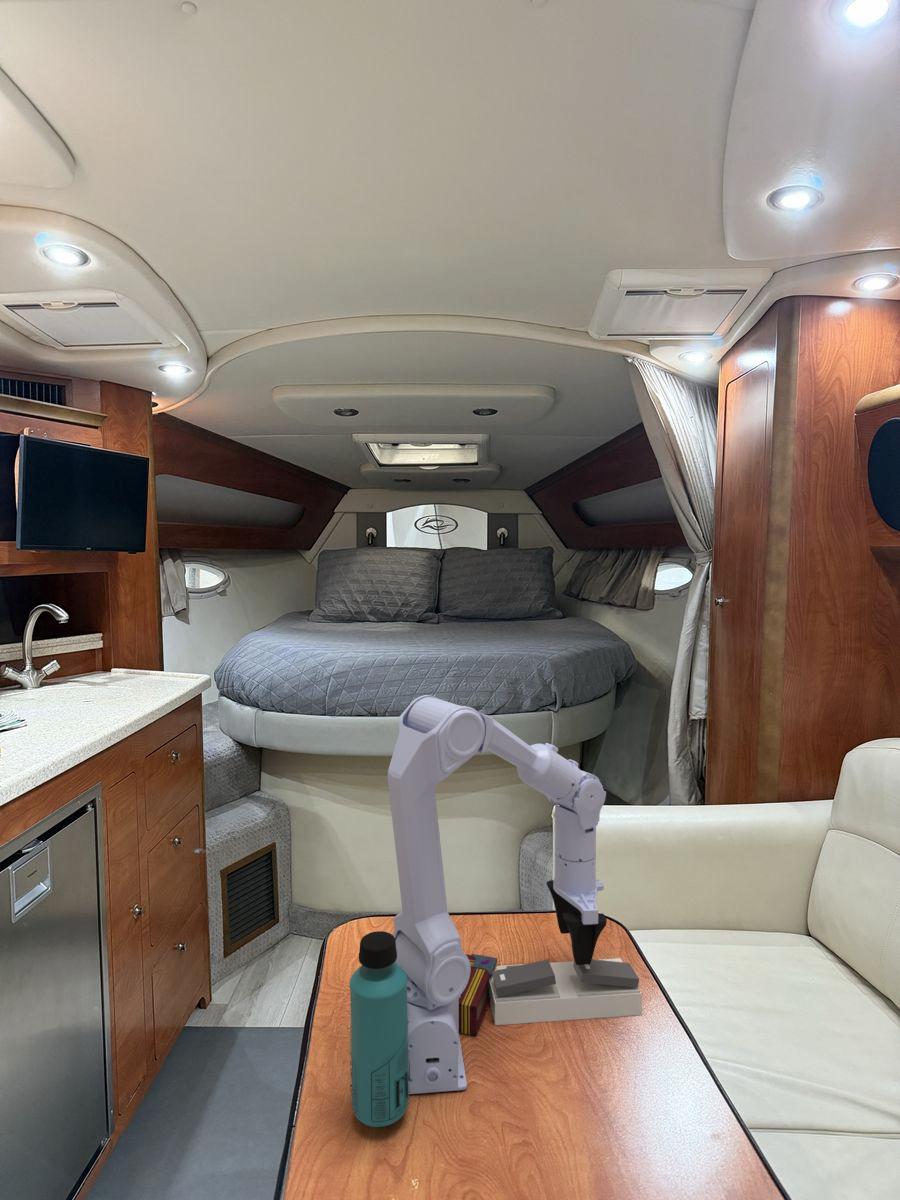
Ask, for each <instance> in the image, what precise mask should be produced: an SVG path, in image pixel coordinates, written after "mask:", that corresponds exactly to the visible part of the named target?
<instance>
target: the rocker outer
mask: <svg viewBox="0 0 900 1200" xmlns="http://www.w3.org/2000/svg"><path fill="white" fill-rule="evenodd" d="M573 961H574V960H573ZM573 967H574V969H575V971H576V973H577V975H578V977H579V979H580V981H581V982H583V983H594V984H605V985H615V986H626V987H637V988H639V983H640V977H639V976H638V974H637V973H636V972H635V970H634V968H633V967H632V965H631V963H630V962H624V961H622V962H613V961H603V960H601V959H593V958H592V961H591V963H590V964H584V965H576V963H575V961H574V964H573Z"/></svg>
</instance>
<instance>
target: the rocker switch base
mask: <svg viewBox="0 0 900 1200" xmlns="http://www.w3.org/2000/svg"><path fill="white" fill-rule="evenodd" d="M600 960H603V961H613V962H623V960H622V958H621V957H620V958H618V957H617V958H605V959H604V958H602V959H601V958H600ZM549 963H550V965H551V967H552V970H553V972H554V974H555V980H556V984H553V985H549V986H544V987H540V988H535V989H531V990H526V991H522V992H517V993H513V994H508V995H504V996H499V997H498V996H497V993H496V989H495V985H494V981H493V976H492V977H491V978H489V980H488V993H489V999H490V1002H489V1007H490V1010H491V1014H492V1017H493V1018H492V1019H493V1022H494V1023H493V1024H494V1026H503V1025H519V1024H532V1023H546V1022H561V1021H563V1022H565V1021H574V1020H576V1021H577V1020H588V1019H589V1020H591V1019H603V1018H617V1017H619V1018H620V1017H630V1016H642V1012H643V1011H642V1009H643V1007H642V1006H643V1005H642V1004H643V999H642V998H643V994H642V993H643V992H642V991H641V989H640V988H639V987H638V988H637V987H626V986H615V985H605V984H594V983H583V982H581V981H580V979H579V977H578V975H577V973H576V971H575V969H574V967H573V964H574V960H572V961H571V960H570V961H556V962H549ZM520 965H524V963H521V964H507V965H505V964H504V965H496V967H495V970H494V971H497V970H501V969H506V968H511V967H515V966H520Z"/></svg>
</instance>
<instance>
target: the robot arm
mask: <svg viewBox="0 0 900 1200" xmlns="http://www.w3.org/2000/svg"><path fill="white" fill-rule="evenodd" d="M397 726H398V737H397V739H396V743H395V746H394V750H393V753H392V757H391V759H390V763H389V767H388V769H387V786H388V787H387V788H388V794H389V802H390V810H391V812H390V813H391V820H392V829H393V838H394V848H395V856H396V866H397V873H398V883H399V891H400V899H401V901H400V902H401V908H402V909H401V911H399V912H398V913H397V914H396V915H395V916H394V917H393V934H392V935H393V936H394V937H395V941H396V950H397V959H396V961H395V963H396V964H397V965H399V966H400V967H401V968H402V969H403V970H404V971H405V973H406V975H407V1016H408V1022H409V1024H408V1045H409V1046H408V1050H409V1051H408V1057H409V1055H410V1057H409V1058H408V1060H410V1079H409V1080H408V1084H409V1086H410V1092H409V1095H417V1094H428V1093H430V1094H431V1093H441V1092H453V1091H464V1090H466V1089H467V1088H468V1083H467V1077H466V1070H465V1063H464V1058H463V1057H464V1056H463V1051H462V1045H461V1039H460V1033H459V998H460V997H461V994H462V992H463V991H464V989H465V988H466V986H467V983H468V981H469V978H470V971H471V967H470V962H469V959H468V957H467V956H466V953H465V951H464V950H463V947H462V940H461V939H462V938H461V936H460V934H459V931H458V929H457V928H456V926H455V924H454V922H453V920H452V918H451V917H450V914H449V911H448V904H447V894H446V884H445V875H444V864H443V854H442V845H441V837H440V827H439V817H438V809H437V798H436V787H437V786H438V785H439V783H440V782H443V781H444V780H445V779H446V778H447V777H449V776H450V775H451V774H453V773H454V772H455V771H456V770H458V769H459V768H460V767H461V766H463V765H464V764H466V762H467V761H469V760H470V759H471V758H472V757H474V756H475V754H476V753H480V754H485V753H486V752H487V751H489V752H490V753H492V754H494V755H495V756H498V757H499V758H501V759H503V760H505V761H506V762H508V763H510V764H512V765H513V766H515V767H516V771H517V775H518V777H519V779H520V781H522V782H523V784H525V785H528V786H529V787H531V788H533V790H535V791H537V792H539V793H540V794H543V795H544V796H546V797H547V800H548V801H549V802H550V803H553V804H555V805H554V877H553V879H551V880H548V881H546V886H547V888H548V890H549V893H550V895H551V898H552V901H553V905H554V908H555V909H554V910H555V915H556V920H557V925H558V930H559V932H560V934H569V937H570V942H571V951H572V956H573V961H575V963H576V965H584V964H590V963H591V961H592V959H593V956H594V953H595V950H596V945H597V942H598V939H599V938H600V935H601V933H602V931H603V930H604V928H605V927H606V926H607V916H606V915H605V914H604V913H599V909H598V906H597V900H598V899H597V896H598V892H599V891H603V890H604V889H605V887H604V886H605V884H604V883H603V882H602V880H601V879H598V878H596V875H597V874H596V870H597V869H596V867H597V866H596V864H597V862H596V861H597V826H598V824H599V822H600V816H601V815H600V814H601V810H602V808H603V807H604V804H605V801H606V797H607V791H605V790H604V787H603V785H602V783H601V780H600V779H599V777H598V776H597V775H595V774H593V773H590V772H587V771H584V770H581V769H580V768H579V763H578V762H577V761H575V760H573V759H566V758H565V757H564V756H562V755H561V754H559V753H558V752H559V748H558V747H556V746H555V745H554V744H551V743H548V742H546V743H545V744H544V743H534V744H531V745H529V743H526V742H525V741H524V740H522V739H521V738H520V737H518V736H517V735H516V734H515V733H513V732H512V731H510V730H509V729H508V728H507V727H505V726H504V725H502V724H501V723H499V722H498V721H497V720H496V719H494V718H492V717H491V716H490V715H487V714H484V713H481V712H479V711H477V710H476V709H475V708H473V707H471V706H467V705H459V704H455V703H454V702H449V701H446V700H443V699H440V698H439V697H437V696H434V695H430V694H424V695H421V696H418V697H417V698H415V699H413V700H412V701H411V703H409V705H408V706H407V707H406V708H405V709H404V711H403V712H401V714H400V715H399V717H398V718H397ZM408 1078H409V1061H408ZM409 1082H410V1083H409Z"/></svg>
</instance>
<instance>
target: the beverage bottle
mask: <svg viewBox="0 0 900 1200" xmlns="http://www.w3.org/2000/svg"><path fill="white" fill-rule="evenodd" d="M396 959H397V950H396V941H395V937H394V936H393V934H392V933H390V932H387V931H382V930H381V931H380V930H378V931H377V930H376V931H372V932H371V931H370V932H369V933H367V934H365V935H364V936H362V937H361V939H360V942H359V951H358V962H359V963H360V966H359V967H357V969H356V970H355V971H354V972H353V973H352V974H351V977H350V980H349V989H350V990H349V991H350V995H349V996H350V1033H349V1034H350V1046H349V1049H350V1052H349V1056H350V1063H349V1067H350V1068H349V1069H350V1080H351V1084H350V1085H349V1086H350V1091H351V1092H350V1093H351V1094H350V1100H351V1105H350V1107H351V1108H352V1111H353V1112H354V1114H355V1115H354V1116H355V1117H356V1119H358V1121H359V1122H360V1123H362V1124H364V1125H365V1126H369V1127H372V1128H373V1127H374V1128H379V1127H380V1128H381V1127H386V1126H387V1127H388V1126H389V1125H393V1124H394V1123H396V1122H397V1121H399V1120H400V1119H401V1118H402V1117H403V1116H404V1114H405V1113H406V1112H407V1107H408V1105H409V1103H410V1097H411V1094H409V1092H410V1086H409V1084H408V1080H409V1079H410V1060H408V1058H409V1057H410V1055H409V1057H408V1051H409V1050H408V1046H409V1045H408V1024H409V1022H408V1016H407V975H406V973H405V971H404V970H403V969H402V968H401V967H400V966H399V965H397V964H396V963H395V961H396ZM408 1061H409V1078H408ZM409 1083H410V1082H409Z"/></svg>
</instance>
